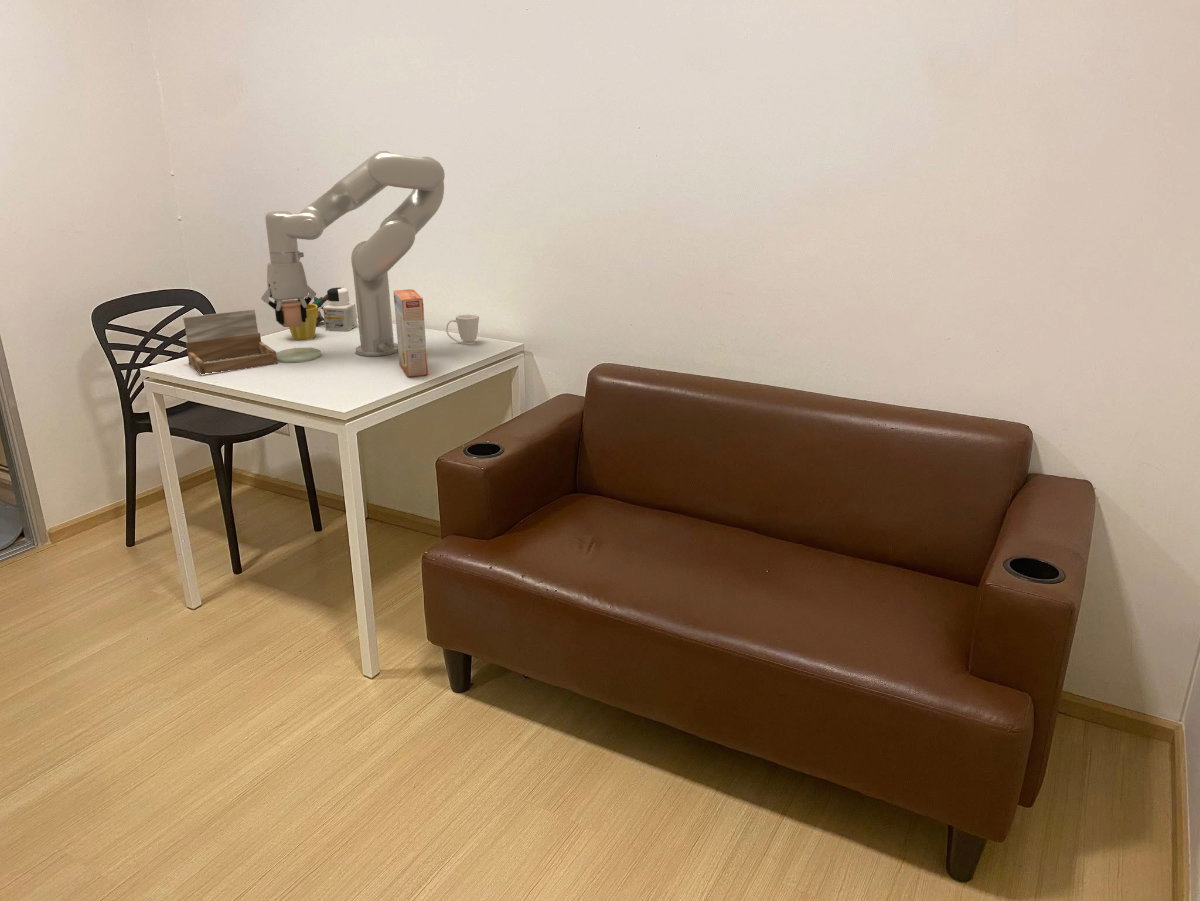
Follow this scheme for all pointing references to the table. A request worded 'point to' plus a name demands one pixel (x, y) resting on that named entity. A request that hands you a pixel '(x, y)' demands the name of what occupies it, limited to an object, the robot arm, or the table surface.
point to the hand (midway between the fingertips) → (292, 321)
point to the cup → (466, 328)
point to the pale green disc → (298, 355)
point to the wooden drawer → (226, 342)
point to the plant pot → (306, 324)
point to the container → (339, 311)
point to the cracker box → (411, 332)
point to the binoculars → (319, 303)
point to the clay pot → (291, 313)
